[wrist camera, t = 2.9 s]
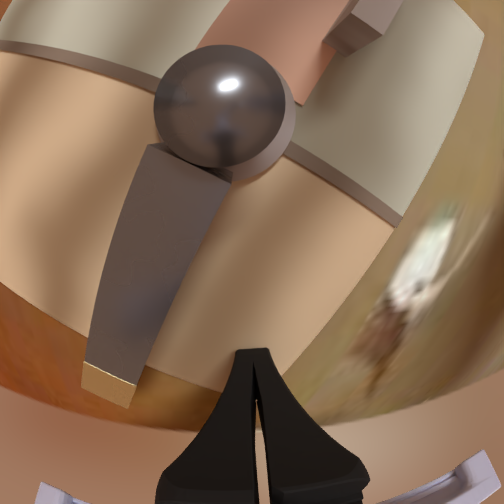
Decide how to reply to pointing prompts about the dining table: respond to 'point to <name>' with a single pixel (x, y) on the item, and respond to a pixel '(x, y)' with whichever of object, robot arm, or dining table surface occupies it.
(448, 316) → the dining table surface
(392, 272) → the dining table surface
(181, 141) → the bar
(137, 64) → the door board
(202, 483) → the robot arm
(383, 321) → the dining table surface
